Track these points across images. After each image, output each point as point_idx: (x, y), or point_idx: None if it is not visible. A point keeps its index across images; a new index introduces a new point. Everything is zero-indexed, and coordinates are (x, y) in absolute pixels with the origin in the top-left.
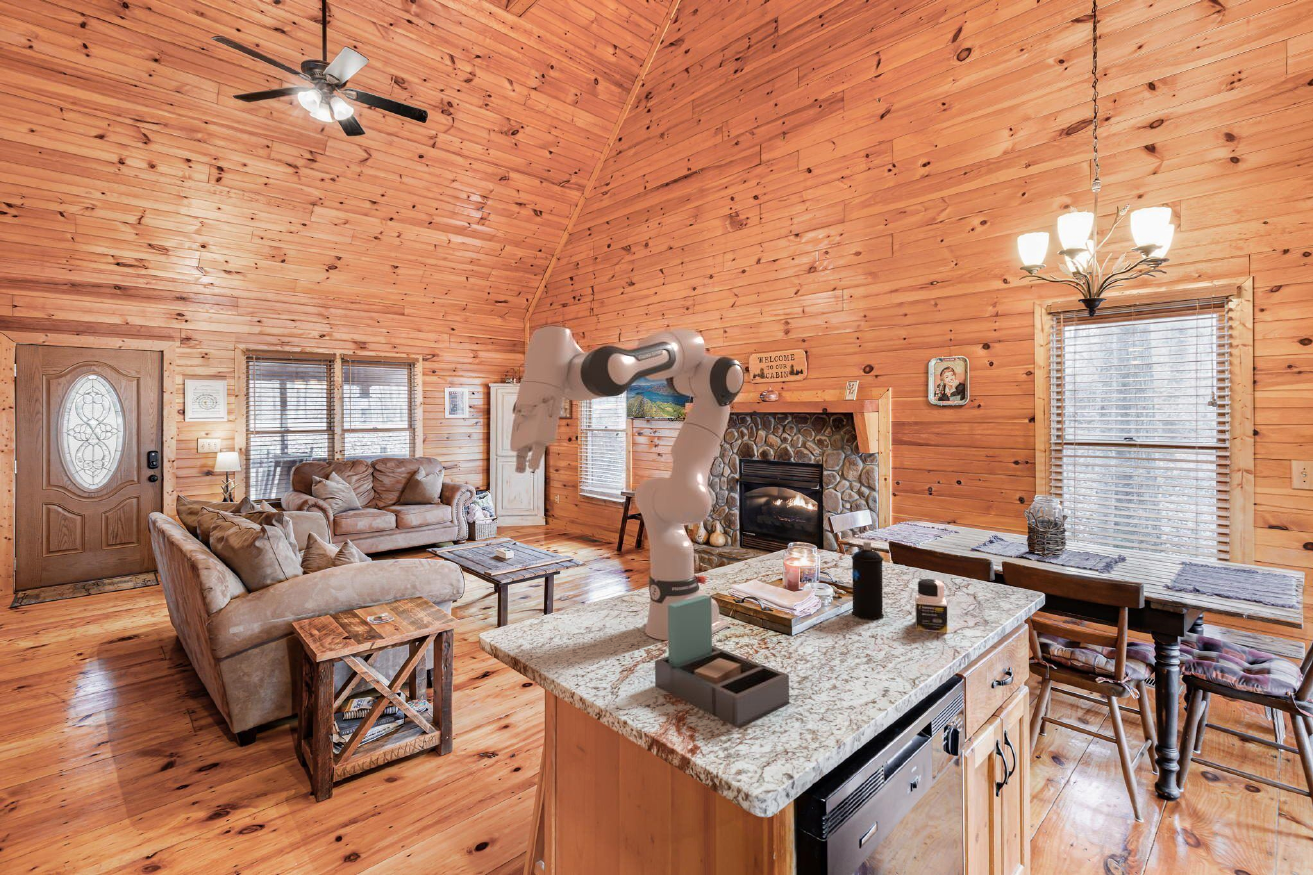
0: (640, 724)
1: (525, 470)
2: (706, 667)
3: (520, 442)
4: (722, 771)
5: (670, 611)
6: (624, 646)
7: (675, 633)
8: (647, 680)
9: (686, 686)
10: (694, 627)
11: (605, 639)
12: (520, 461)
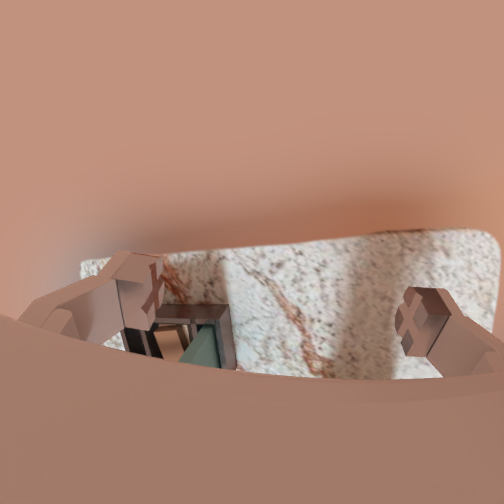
0: (184, 256)
1: (396, 330)
2: (176, 343)
3: (400, 403)
4: (103, 261)
5: (187, 358)
6: (356, 349)
7: (189, 345)
8: (260, 317)
9: (176, 313)
10: None
11: (390, 344)
12: (453, 343)
